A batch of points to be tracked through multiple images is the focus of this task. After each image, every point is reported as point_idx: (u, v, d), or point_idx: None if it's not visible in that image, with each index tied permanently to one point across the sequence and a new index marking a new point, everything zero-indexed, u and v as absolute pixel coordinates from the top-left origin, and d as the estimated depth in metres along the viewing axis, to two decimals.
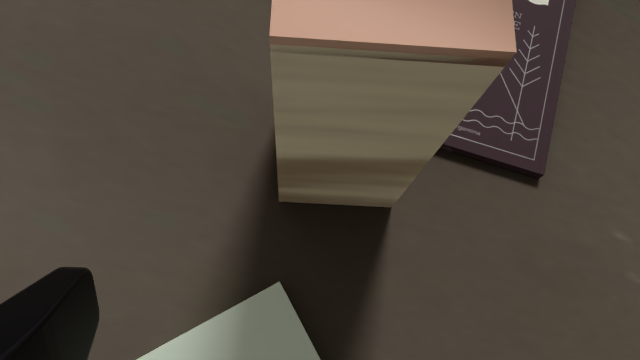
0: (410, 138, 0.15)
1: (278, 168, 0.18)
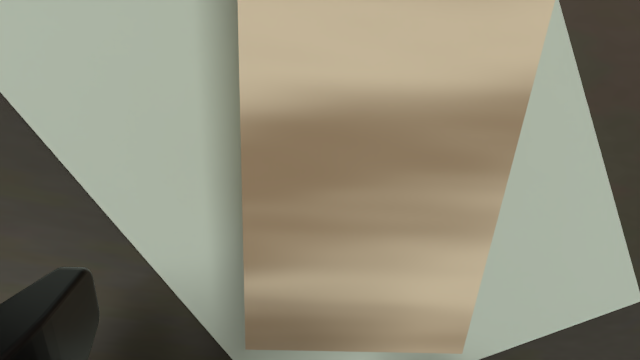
0: None
1: (244, 170, 0.09)
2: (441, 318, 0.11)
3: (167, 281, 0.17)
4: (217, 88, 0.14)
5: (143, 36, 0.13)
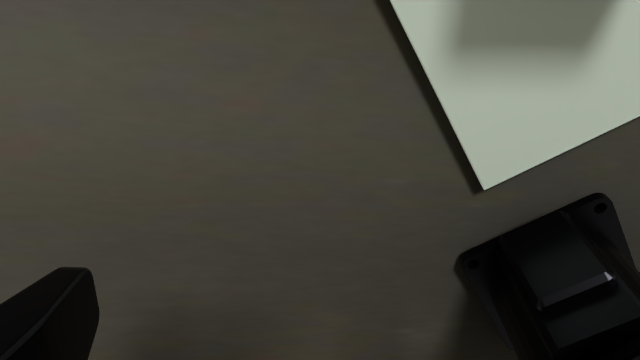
0: None
1: None
2: None
3: None
4: None
5: None
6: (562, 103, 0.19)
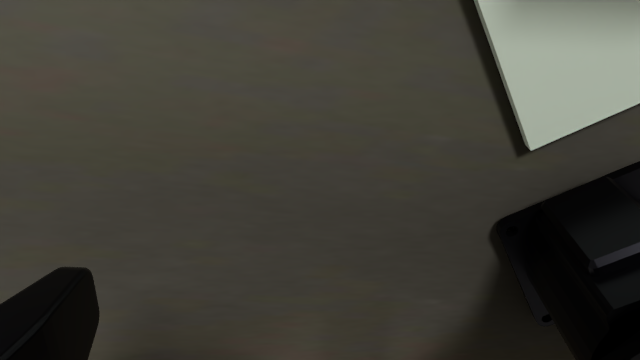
0: None
1: None
2: None
3: None
4: None
5: None
6: (620, 60, 0.18)
